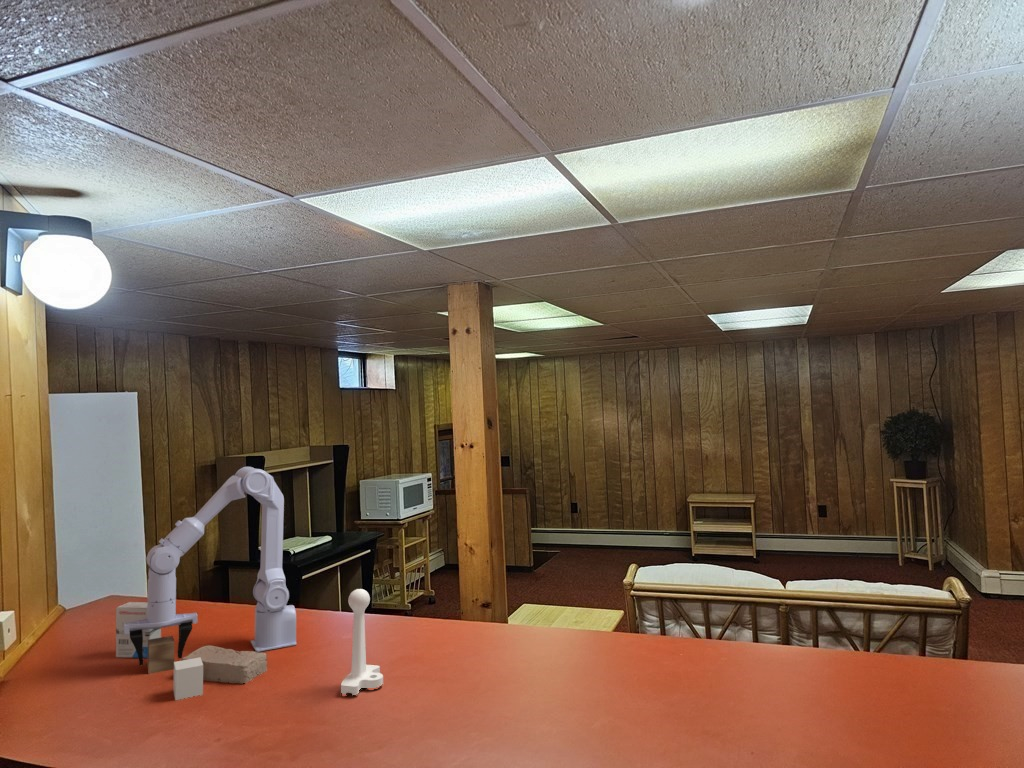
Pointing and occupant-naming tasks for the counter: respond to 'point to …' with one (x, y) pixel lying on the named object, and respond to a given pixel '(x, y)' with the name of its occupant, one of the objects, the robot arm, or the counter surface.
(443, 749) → the counter surface
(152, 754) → the counter surface
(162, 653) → the walnut block
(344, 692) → the joystick
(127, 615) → the ink box
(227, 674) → the brick
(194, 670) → the grey block
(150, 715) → the counter surface
